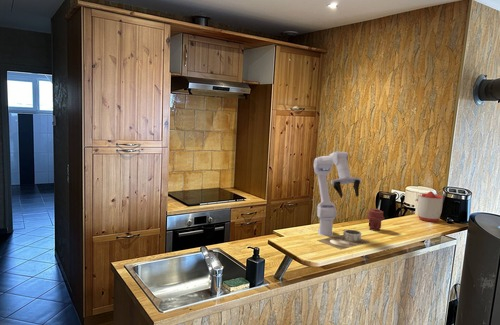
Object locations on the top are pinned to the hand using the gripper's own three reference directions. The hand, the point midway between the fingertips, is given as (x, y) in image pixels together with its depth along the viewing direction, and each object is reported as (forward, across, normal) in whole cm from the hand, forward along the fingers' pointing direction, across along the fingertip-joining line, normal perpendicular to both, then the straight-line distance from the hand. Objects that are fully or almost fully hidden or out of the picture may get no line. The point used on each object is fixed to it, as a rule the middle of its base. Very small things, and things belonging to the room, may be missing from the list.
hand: (349, 196), depth 177 cm
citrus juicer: (-18, +73, +78) cm, 108 cm away
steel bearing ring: (+10, +6, +32) cm, 34 cm away
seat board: (+12, 0, +29) cm, 31 cm away
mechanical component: (-3, +26, +52) cm, 59 cm away
